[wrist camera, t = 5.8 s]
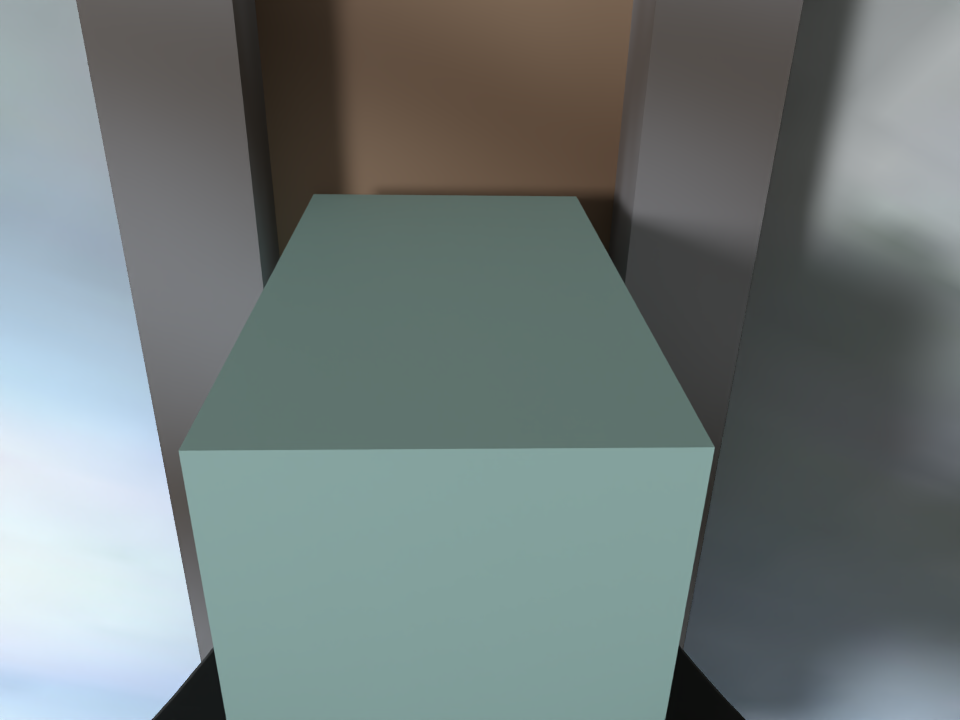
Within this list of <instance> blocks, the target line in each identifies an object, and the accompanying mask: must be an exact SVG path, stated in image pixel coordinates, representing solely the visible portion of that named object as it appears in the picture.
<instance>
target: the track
mask: <svg viewBox="0 0 960 720" xmlns="http://www.w3.org/2000/svg"><path fill="white" fill-rule="evenodd" d="M76 2H77V7H78V12H79V18H80V23H81V28H82V34H83V39H84V44H85V49H86V55H87V60H88V65H89V71H90V76H91V81H92V86H93V92H94V97H95V102H96V108H97V113H98V118H99V123H100V129H101V134H102V139H103V145H104V150H105V155H106V161H107V166H108V171H109V176H110V182H111V187H112V192H113V198H114V203H115V208H116V213H117V219H118V224H119V229H120V235H121V240H122V245H123V250H124V256H125V261H126V266H127V272H128V277H129V282H130V288H131V293H132V298H133V303H134V309H135V314H136V319H137V325H138V330H139V335H140V340H141V346H142V351H143V356H144V362H145V367H146V372H147V377H148V383H149V388H150V393H151V399H152V404H153V409H154V414H155V420H156V425H157V430H158V436H159V441H160V446H161V452H162V457H163V462H164V467H165V473H166V478H167V483H168V489H169V494H170V499H171V504H172V510H173V515H174V520H175V526H176V531H177V536H178V541H179V547H180V552H181V557H182V563H183V568H184V573H185V578H186V584H187V589H188V594H189V600H190V605H191V610H192V616H193V621H194V626H195V631H196V637H197V642H198V647H199V653H200V658H201V662H202V661H203V659H204V658H205V657H206V656H207V654H208V653H209V652H210V651H211V649H212V648H213V641H212V636H211V630H210V625H209V619H208V613H207V608H206V602H205V596H204V591H203V585H202V580H201V574H200V568H199V563H198V557H197V552H196V546H195V540H194V535H193V529H192V523H191V518H190V512H189V507H188V501H187V495H186V490H185V484H184V479H183V473H182V467H181V462H180V456H179V449H180V447H181V445H182V443H183V441H184V439H185V437H186V436H187V434H188V432H189V430H190V428H191V426H192V424H193V422H194V420H195V418H196V417H197V415H198V413H199V411H200V409H201V407H202V405H203V403H204V401H205V400H206V398H207V396H208V394H209V392H210V390H211V388H212V386H213V384H214V382H215V381H216V379H217V377H218V375H219V373H220V371H221V369H222V367H223V365H224V363H225V362H226V360H227V358H228V356H229V354H230V352H231V350H232V348H233V346H234V344H235V343H236V341H237V339H238V337H239V335H240V333H241V331H242V329H243V327H244V325H245V324H246V322H247V320H248V318H249V316H250V314H251V312H252V310H253V308H254V306H255V305H256V303H257V301H258V299H259V297H260V295H261V293H262V291H263V289H264V287H265V286H266V284H267V282H268V280H269V278H270V276H271V274H272V272H273V270H274V269H275V267H276V265H277V263H278V261H279V259H280V257H281V255H282V253H283V251H284V250H285V248H286V246H287V244H288V242H289V240H290V238H291V236H292V234H293V232H294V231H295V229H296V227H297V225H298V223H299V221H300V219H301V217H302V215H303V213H304V212H305V210H306V208H307V206H308V204H309V202H310V200H311V198H312V196H313V194H354V195H467V196H576V197H577V199H578V200H579V202H580V204H581V206H582V208H583V209H584V211H585V213H586V215H587V217H588V218H589V220H590V222H591V224H592V226H593V228H594V229H595V231H596V233H597V235H598V237H599V238H600V240H601V242H602V244H603V246H604V247H605V249H606V251H607V253H608V255H609V257H610V258H611V260H612V262H613V264H614V266H615V267H616V269H617V271H618V273H619V275H620V276H621V278H622V280H623V282H624V284H625V286H626V287H627V289H628V291H629V293H630V295H631V296H632V298H633V300H634V302H635V304H636V305H637V307H638V309H639V311H640V313H641V315H642V316H643V318H644V320H645V322H646V324H647V325H648V327H649V329H650V331H651V333H652V334H653V336H654V338H655V340H656V342H657V344H658V345H659V347H660V349H661V351H662V353H663V354H664V356H665V358H666V360H667V362H668V363H669V365H670V367H671V369H672V371H673V373H674V374H675V376H676V378H677V380H678V382H679V383H680V385H681V387H682V389H683V391H684V392H685V394H686V396H687V398H688V400H689V402H690V403H691V405H692V407H693V409H694V411H695V412H696V414H697V416H698V418H699V420H700V421H701V423H702V425H703V427H704V429H705V431H706V432H707V434H708V436H709V438H710V440H711V441H712V443H713V445H714V447H715V449H714V454H713V460H712V465H711V471H710V476H709V482H708V487H707V493H706V498H705V504H704V509H703V515H702V520H701V526H700V531H699V537H698V542H697V548H696V553H695V559H694V564H693V570H692V575H691V580H690V586H689V591H688V597H687V602H686V608H685V613H684V619H683V624H682V630H681V635H680V641H679V645H680V647H681V648H682V649H683V647H684V641H685V636H686V630H687V625H688V620H689V614H690V609H691V604H692V598H693V593H694V587H695V582H696V577H697V571H698V566H699V560H700V555H701V550H702V544H703V539H704V534H705V528H706V523H707V517H708V512H709V507H710V501H711V496H712V490H713V485H714V480H715V474H716V469H717V464H718V458H719V453H720V447H721V442H722V437H723V431H724V426H725V420H726V415H727V410H728V404H729V399H730V394H731V388H732V383H733V377H734V372H735V367H736V361H737V356H738V350H739V345H740V340H741V334H742V329H743V324H744V318H745V313H746V307H747V302H748V297H749V291H750V286H751V280H752V275H753V270H754V264H755V259H756V254H757V248H758V243H759V237H760V232H761V227H762V221H763V216H764V210H765V205H766V200H767V194H768V189H769V184H770V178H771V173H772V167H773V162H774V157H775V151H776V146H777V140H778V135H779V130H780V124H781V119H782V114H783V108H784V103H785V97H786V92H787V87H788V81H789V76H790V70H791V65H792V60H793V54H794V49H795V44H796V38H797V33H798V27H799V22H800V17H801V11H802V6H803V0H76Z"/></svg>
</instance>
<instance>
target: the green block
mask: <svg viewBox="0 0 960 720" xmlns="http://www.w3.org/2000/svg"><path fill="white" fill-rule="evenodd" d="M714 449H715V447H714V445H713V443H712V441H711V440H710V438H709V436H708V434H707V432H706V431H705V429H704V427H703V425H702V423H701V421H700V420H699V418H698V416H697V414H696V412H695V411H694V409H693V407H692V405H691V403H690V402H689V400H688V398H687V396H686V394H685V392H684V391H683V389H682V387H681V385H680V383H679V382H678V380H677V378H676V376H675V374H674V373H673V371H672V369H671V367H670V365H669V363H668V362H667V360H666V358H665V356H664V354H663V353H662V351H661V349H660V347H659V345H658V344H657V342H656V340H655V338H654V336H653V334H652V333H651V331H650V329H649V327H648V325H647V324H646V322H645V320H644V318H643V316H642V315H641V313H640V311H639V309H638V307H637V305H636V304H635V302H634V300H633V298H632V296H631V295H630V293H629V291H628V289H627V287H626V286H625V284H624V282H623V280H622V278H621V276H620V275H619V273H618V271H617V269H616V267H615V266H614V264H613V262H612V260H611V258H610V257H609V255H608V253H607V251H606V249H605V247H604V246H603V244H602V242H601V240H600V238H599V237H598V235H597V233H596V231H595V229H594V228H593V226H592V224H591V222H590V220H589V218H588V217H587V215H586V213H585V211H584V209H583V208H582V206H581V204H580V202H579V200H578V199H577V197H576V196H467V195H354V194H313V196H312V198H311V200H310V202H309V204H308V206H307V208H306V210H305V212H304V213H303V215H302V217H301V219H300V221H299V223H298V225H297V227H296V229H295V231H294V232H293V234H292V236H291V238H290V240H289V242H288V244H287V246H286V248H285V250H284V251H283V253H282V255H281V257H280V259H279V261H278V263H277V265H276V267H275V269H274V270H273V272H272V274H271V276H270V278H269V280H268V282H267V284H266V286H265V287H264V289H263V291H262V293H261V295H260V297H259V299H258V301H257V303H256V305H255V306H254V308H253V310H252V312H251V314H250V316H249V318H248V320H247V322H246V324H245V325H244V327H243V329H242V331H241V333H240V335H239V337H238V339H237V341H236V343H235V344H234V346H233V348H232V350H231V352H230V354H229V356H228V358H227V360H226V362H225V363H224V365H223V367H222V369H221V371H220V373H219V375H218V377H217V379H216V381H215V382H214V384H213V386H212V388H211V390H210V392H209V394H208V396H207V398H206V400H205V401H204V403H203V405H202V407H201V409H200V411H199V413H198V415H197V417H196V418H195V420H194V422H193V424H192V426H191V428H190V430H189V432H188V434H187V436H186V437H185V439H184V441H183V443H182V445H181V447H180V449H179V456H180V462H181V467H182V473H183V479H184V484H185V490H186V495H187V501H188V507H189V512H190V518H191V523H192V529H193V535H194V540H195V546H196V552H197V557H198V563H199V568H200V574H201V580H202V585H203V591H204V596H205V602H206V608H207V613H208V619H209V625H210V630H211V636H212V641H213V647H214V653H215V658H216V664H217V669H218V675H219V681H220V686H221V692H222V697H223V703H224V709H225V714H226V720H665V718H666V712H667V707H668V701H669V696H670V690H671V685H672V679H673V674H674V668H675V663H676V657H677V652H678V646H679V641H680V635H681V630H682V624H683V619H684V613H685V608H686V602H687V597H688V591H689V586H690V580H691V575H692V570H693V564H694V559H695V553H696V548H697V542H698V537H699V531H700V526H701V520H702V515H703V509H704V504H705V498H706V493H707V487H708V482H709V476H710V471H711V465H712V460H713V454H714Z"/></svg>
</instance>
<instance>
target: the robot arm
mask: <svg viewBox="0 0 960 720" xmlns="http://www.w3.org/2000/svg"><path fill="white" fill-rule="evenodd" d="M152 720H226V714H225V709H224V703H223V697H222V692H221V686H220V681H219V675H218V669H217V664H216V658H215V653H214V647H213V648H212V649H211V651H210V652H209V653H208V654H207V656H206V657H205V658H204V659H203V661H202V662H201V663H200V664H199V665H198V667H197V668H196V669H195V670H194V671H193V673H192V674H191V675H190V676H189V678H188V679H187V680H186V681H185V682H184V684H183V685H182V686H181V687H180V688H179V690H178V691H177V692H176V693H175V694H174V696H173V697H172V698H171V699H170V700H169V701H168V702H167V703H166V705H165V706H164V707H163V708H162V709H161V710H160V711H159V712H158V713H157V715H156V716H155V717H154V718H153V719H152ZM665 720H745V719H744V718H743V717H742V716H741V715H740V713H739V712H738V711H737V710H736V709H735V708H734V707H733V706H732V705H731V704H730V703H729V702H728V701H727V700H726V699H725V698H724V697H723V695H722V694H721V693H720V692H719V691H718V690H717V689H716V688H715V687H714V686H713V684H712V683H711V682H710V681H709V680H708V679H707V678H706V676H705V675H704V674H703V673H702V672H701V671H700V670H699V668H698V667H697V666H696V665H695V664H694V663H693V661H692V660H691V659H690V658H689V656H688V655H687V654H686V653H685V652H684V650H683V649H682V648H681V647H680V645H679V646H678V652H677V657H676V663H675V668H674V674H673V679H672V685H671V690H670V696H669V701H668V707H667V712H666V718H665Z"/></svg>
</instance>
